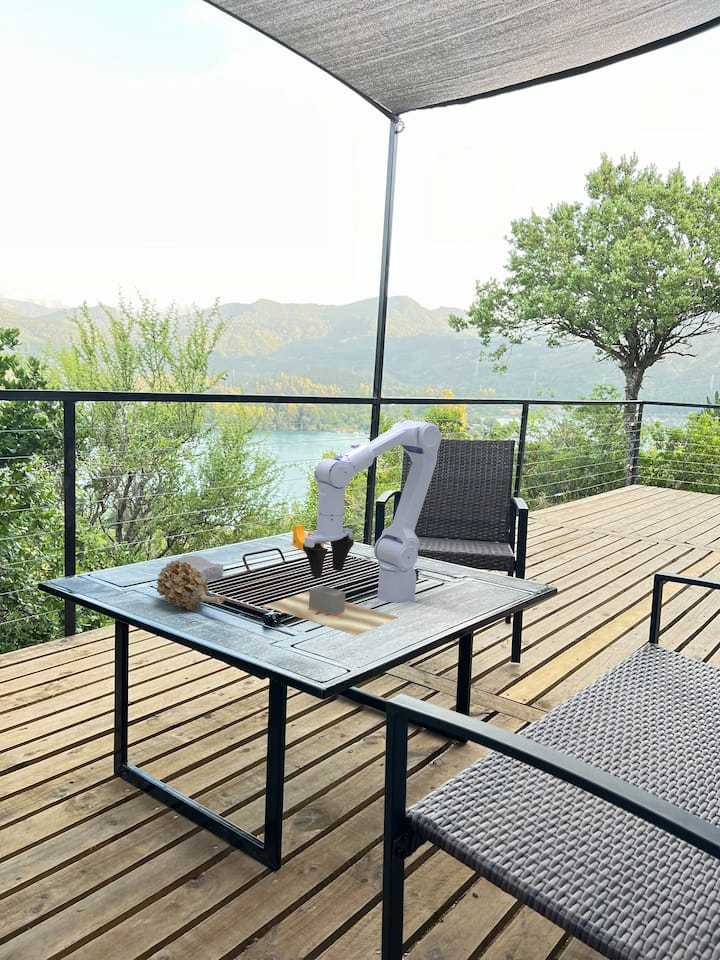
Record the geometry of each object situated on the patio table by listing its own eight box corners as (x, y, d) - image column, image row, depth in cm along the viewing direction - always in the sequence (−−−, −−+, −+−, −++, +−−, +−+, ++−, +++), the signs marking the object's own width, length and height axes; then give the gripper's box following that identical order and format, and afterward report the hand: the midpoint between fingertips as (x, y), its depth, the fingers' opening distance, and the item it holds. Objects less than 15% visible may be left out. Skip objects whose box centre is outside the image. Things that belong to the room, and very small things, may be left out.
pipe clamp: (323, 554, 231) (324, 532, 230) (310, 555, 229) (311, 533, 228) (305, 544, 241) (306, 524, 240) (292, 545, 239) (293, 524, 238)
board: (308, 597, 189) (308, 590, 189) (398, 623, 174) (398, 616, 174) (262, 612, 176) (262, 605, 176) (355, 642, 161) (356, 635, 161)
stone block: (200, 573, 210) (169, 571, 203) (204, 555, 210) (173, 553, 203) (227, 585, 202) (195, 584, 195) (231, 567, 202) (200, 565, 195)
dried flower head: (143, 603, 177) (143, 561, 175) (175, 594, 185) (176, 553, 183) (213, 627, 165) (215, 581, 163) (245, 616, 173) (246, 572, 171)
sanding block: (320, 604, 179) (321, 585, 178) (344, 611, 175) (345, 592, 174) (308, 608, 176) (309, 589, 175) (333, 615, 172) (334, 596, 171)
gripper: (336, 506, 180) (333, 564, 182) (295, 514, 169) (292, 575, 171) (361, 511, 176) (357, 570, 178) (320, 520, 165) (317, 582, 167)
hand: (327, 573), depth 174 cm, fingers open, 7 cm apart
